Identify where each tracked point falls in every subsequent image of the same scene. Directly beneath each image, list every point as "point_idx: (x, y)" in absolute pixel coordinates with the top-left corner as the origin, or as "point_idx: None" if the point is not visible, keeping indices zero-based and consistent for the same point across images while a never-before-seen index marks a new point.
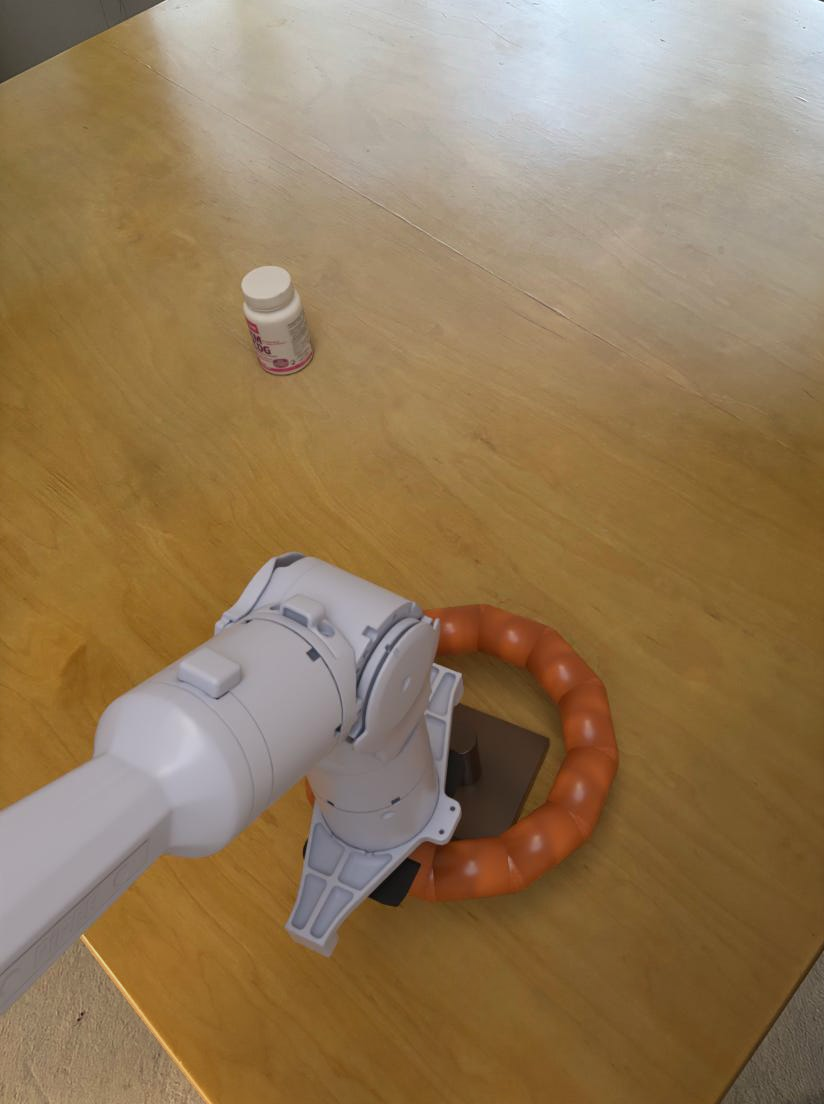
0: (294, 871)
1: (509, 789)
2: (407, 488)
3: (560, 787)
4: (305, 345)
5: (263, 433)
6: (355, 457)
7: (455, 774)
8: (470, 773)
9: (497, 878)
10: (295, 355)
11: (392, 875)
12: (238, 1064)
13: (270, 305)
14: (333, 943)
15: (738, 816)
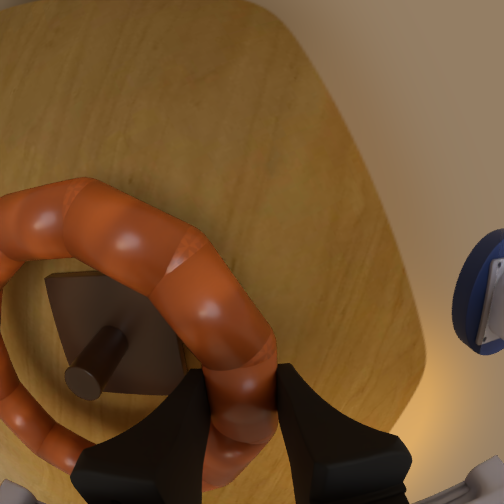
0: None
1: (102, 292)
2: (6, 435)
3: (46, 248)
4: None
5: (52, 500)
6: (20, 462)
7: (103, 481)
8: (109, 342)
9: (205, 272)
10: None
11: (360, 482)
12: (412, 364)
13: None
14: (493, 472)
15: (39, 84)
